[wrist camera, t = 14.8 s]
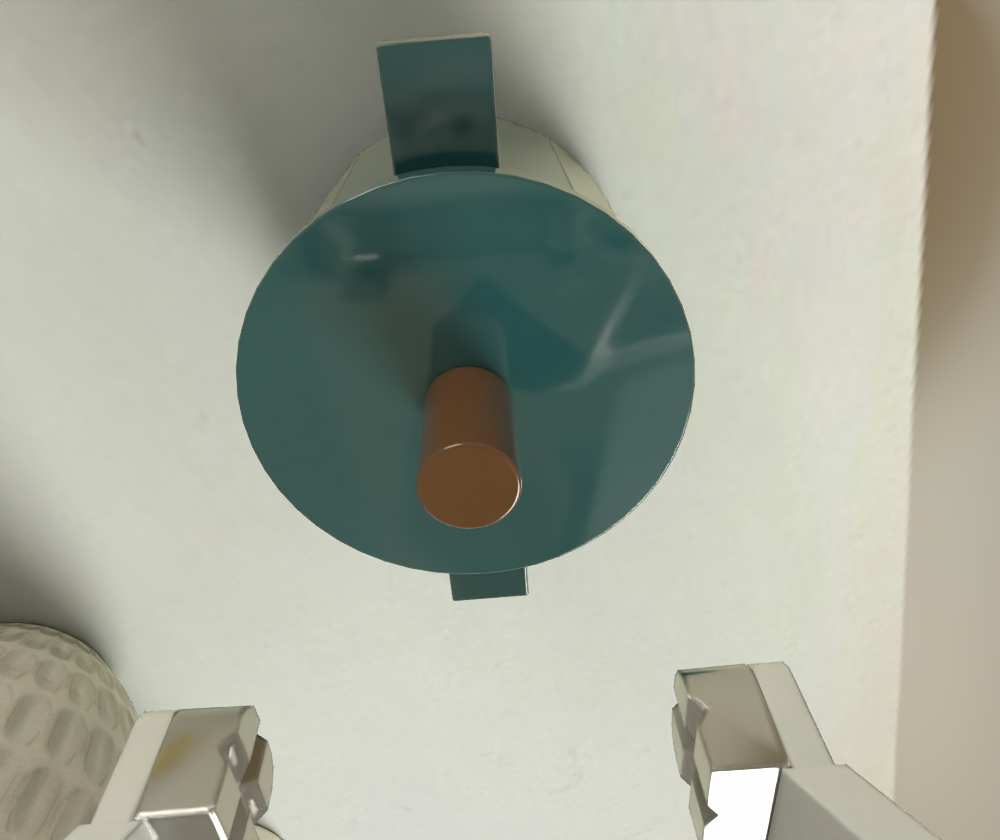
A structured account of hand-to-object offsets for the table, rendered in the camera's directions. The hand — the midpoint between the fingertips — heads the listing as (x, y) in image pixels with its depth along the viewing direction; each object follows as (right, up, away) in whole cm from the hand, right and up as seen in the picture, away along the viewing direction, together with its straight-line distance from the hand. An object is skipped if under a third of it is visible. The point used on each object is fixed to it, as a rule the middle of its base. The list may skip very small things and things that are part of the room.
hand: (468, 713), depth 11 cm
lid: (0, +5, +8) cm, 10 cm away
